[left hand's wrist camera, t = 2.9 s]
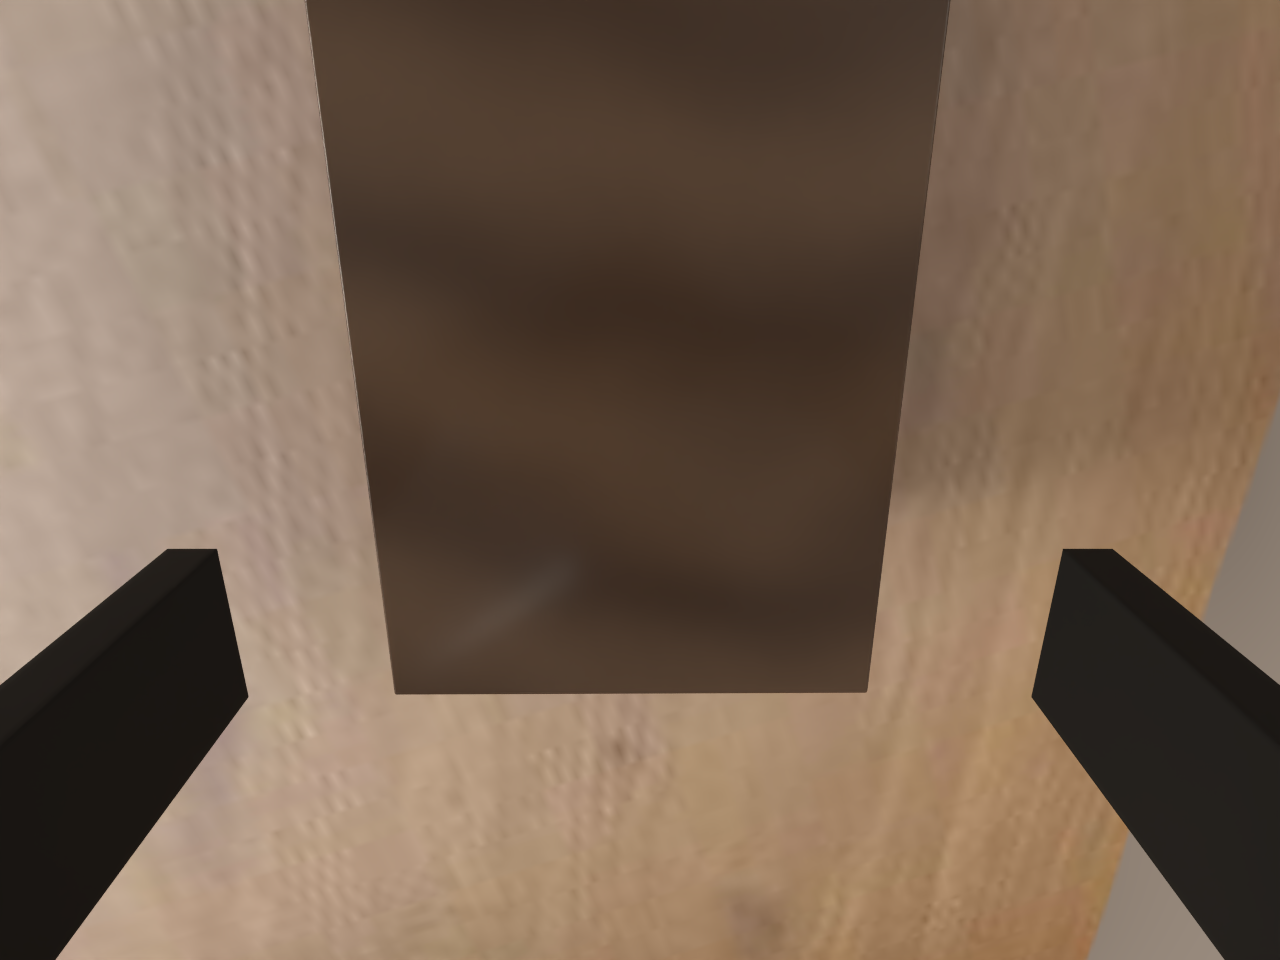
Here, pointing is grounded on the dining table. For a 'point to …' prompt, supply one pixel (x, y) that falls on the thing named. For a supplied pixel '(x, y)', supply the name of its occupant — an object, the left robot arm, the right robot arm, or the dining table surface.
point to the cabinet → (629, 328)
